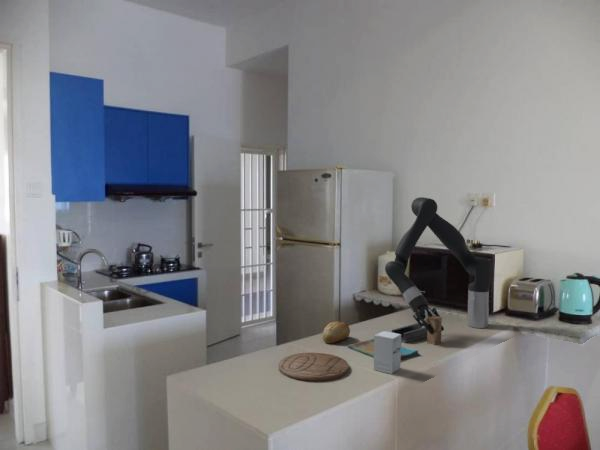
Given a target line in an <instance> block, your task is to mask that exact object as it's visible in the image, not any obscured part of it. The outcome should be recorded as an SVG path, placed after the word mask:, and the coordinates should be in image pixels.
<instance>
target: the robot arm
mask: <svg viewBox="0 0 600 450" xmlns="http://www.w3.org/2000/svg"><path fill="white" fill-rule="evenodd" d="M411 211H412V213H413V214H414V215H415V216H416V218H415V221H414V222H413V224H412V225H411V227H410V228H409V229H408V230H407V231H406V232H405V233H404V234H403V236H402V237H401V239H400V241H399V242H398V244H397V247H396V248H395V252H394V254H395V258H394V261H393V260H390V261H388V262H387V263H386V264H385V268H384V271H385V274H386V276H387V277H388V278H389V279H390V280H391V281H392V283H393V284H394V285H395V286H396V287H397V288H398V290H399V292H400V293H401V295H402V297H403V299H404V301H405V302H406V303H407V305H408V306H409V307H410V309H411V310H412V313H413V314H412V318H414V320H415V321H416V322H417V323H419V325H420V326H421V327H422V328H424V327H426V329H427V330H428V331H429V333H430V334H433V333H435V331H434V329H433V328H432V326H431V325H430V324H429V321H428V317H431V316H438V317H441V316H440V314H439V313H438V311H437V308H435V307H433V308H432V309H431V308H430V307H429V302H428V300H427V299H426V298H425V296H424V294H423V293H422V292H421V291H420V289H419V288H418V287H417V286H416V284H415V283H414V281H413V280H412V279H411V277H409V276H407V275H406V271H407V268H408V265H409V264H408V263H409V260H410V258H411V256H412V254H413V251H414V249H415V247H416V246H417V243H418V241H419V239H420V238H421V237H422V235H423V233H424V232H425V230H426V229H427V227H428V228H429V229H430V231H431V232H432V233H433V234H434V235H435V236H436V238H437V239H438V240H439V241H440V242H441V243H442V245H444V247H446V249H448V250H449V251H450V253H451V254H452V255H453V256H454V257H455V258H456V259H457V260H458V261H459V263H460V264H461V265H462V267H463V268H464V269H465V271H466V272H467V273H468V274H469V275H471V276H474V281H473V282H471V283H469V284H468V289H467V290H468V292H467V293H468V294H467V297H468V298H467V323H466V324H467V326H468V327H470V328H471V327H472V328H477V329H486V328H488V326H489V312H490V308H489V307H490V306H489V299H490V298H489V297H490V296H489V294H490V293H489V292H490V291H489V290H490V287H491V284H492V276H493V275H492V274H493V266H492V263H491V261H490V260H489V259H488V258H485V257H481V256H480V257H479V256H476V255H475V254H474V253H472V251H470V249H469V248H468V247H467V242H466V240H465V237H464V236H463V234H462V233H461V232H460V231H459V230H458V229H457V227H455V226H454V225H453V224H451V223H450V222H449V221H448V220H446V219H444V218H443V217H441V216H440V215H439V213H437V212H438V204H437V202H436V201H435V199H432V198H429V197H425V196H424V197H423V196H419V197H416V198H415V199H413V201H412V202H411ZM444 330H445V328H444V326H443V324H441V333H442V332H443V331H444Z"/></svg>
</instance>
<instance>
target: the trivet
mask: <svg viewBox="0 0 600 450" xmlns="http://www.w3.org/2000/svg"><path fill="white" fill-rule="evenodd" d="M278 371H279V372H280V373H281V375H283V376H285V377H287V378H289V379H292V380H296V381H297V380H298V381H303V382H315V383H316V382H328V381H333V380H337V379H341V378H343V377H344V376H346V375H347V374H348V373H349V362H348V361H347V360H346V359H345V358H342V357H340V356H338V355H334V354H330V353H324V352H302V353H294V354H291V355H288V356H285V357H283V358H282V359H280V361H279V362H278Z"/></svg>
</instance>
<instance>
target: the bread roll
mask: <svg viewBox="0 0 600 450" xmlns="http://www.w3.org/2000/svg"><path fill="white" fill-rule="evenodd" d="M350 333H351V329H350V326H349V324H348V323H346V322H342V321H332V322H329V323H328V324H327V325H326V326H325V327H324V329H323V331H322V340H323V342H325V343H327V344H334V343H338V342H340V341H342V340H344V339H348V337H349V336H350Z"/></svg>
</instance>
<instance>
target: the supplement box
mask: <svg viewBox="0 0 600 450" xmlns="http://www.w3.org/2000/svg"><path fill="white" fill-rule="evenodd" d="M373 339H374V358H373V370H374V371H379V372H382V373H385V374H390V375H392V374H393V373H395V372H397V371H399V369H401V364H402V363H401V361H402V360H401V347H402V342H401V334H397V333H392V331H386V330H383V331H381V332H379V333H376V334H375V335H374V338H373Z"/></svg>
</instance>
